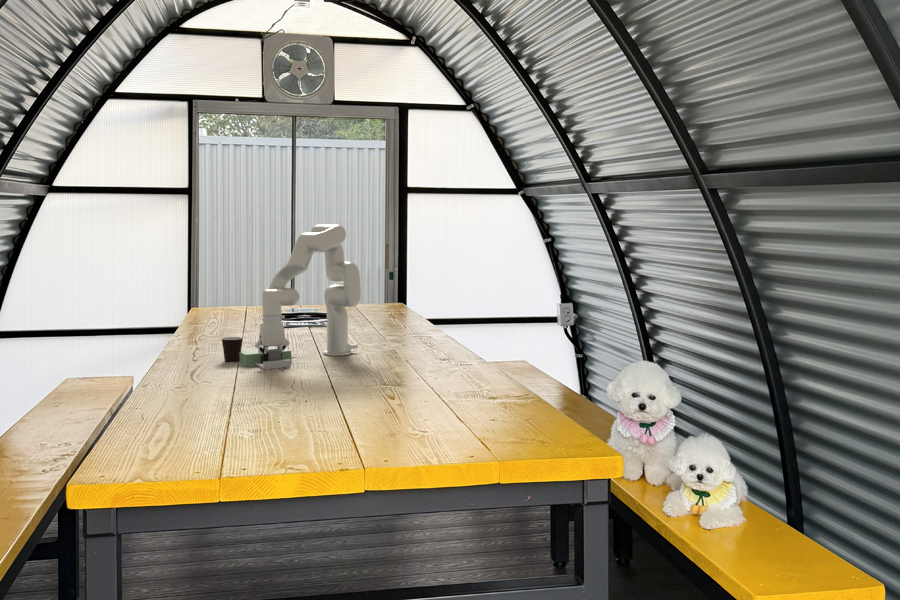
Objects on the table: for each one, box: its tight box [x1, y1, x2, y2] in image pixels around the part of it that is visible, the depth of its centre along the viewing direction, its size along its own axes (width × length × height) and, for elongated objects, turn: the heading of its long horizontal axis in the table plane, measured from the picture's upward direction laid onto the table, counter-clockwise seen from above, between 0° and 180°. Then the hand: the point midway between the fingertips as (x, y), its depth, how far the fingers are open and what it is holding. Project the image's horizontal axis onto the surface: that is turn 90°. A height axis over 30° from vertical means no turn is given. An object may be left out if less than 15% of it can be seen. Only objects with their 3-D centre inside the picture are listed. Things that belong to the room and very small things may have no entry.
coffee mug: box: [221, 336, 243, 363], centre depth 349 cm, size 12×9×10 cm
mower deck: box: [239, 347, 292, 370], centre depth 340 cm, size 20×18×6 cm
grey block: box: [267, 348, 281, 361], centre depth 337 cm, size 5×7×7 cm
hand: (272, 361), depth 337 cm, fingers closed on grey block, 5 cm apart
